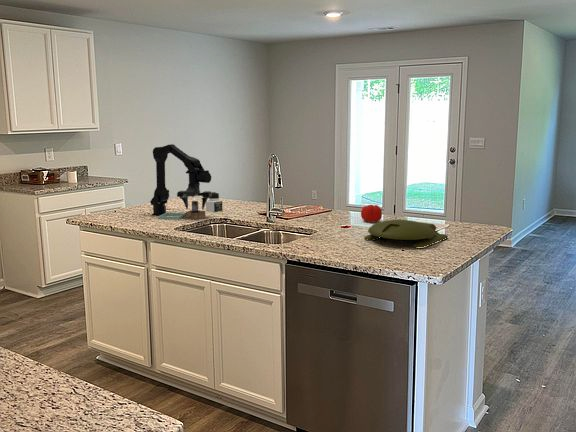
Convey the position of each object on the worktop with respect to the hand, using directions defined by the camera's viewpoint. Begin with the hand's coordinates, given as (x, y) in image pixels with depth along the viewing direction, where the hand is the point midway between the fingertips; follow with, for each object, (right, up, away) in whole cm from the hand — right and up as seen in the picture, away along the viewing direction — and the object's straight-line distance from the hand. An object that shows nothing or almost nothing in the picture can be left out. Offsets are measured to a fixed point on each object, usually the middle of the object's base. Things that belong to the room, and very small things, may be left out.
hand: (195, 209), depth 321 cm
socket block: (0, -5, +1) cm, 6 cm away
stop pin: (0, -4, +1) cm, 4 cm away
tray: (-13, -6, 0) cm, 14 cm away
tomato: (+98, -7, -9) cm, 99 cm away
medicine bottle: (+8, -2, +22) cm, 23 cm away
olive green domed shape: (+107, -16, -53) cm, 120 cm away
